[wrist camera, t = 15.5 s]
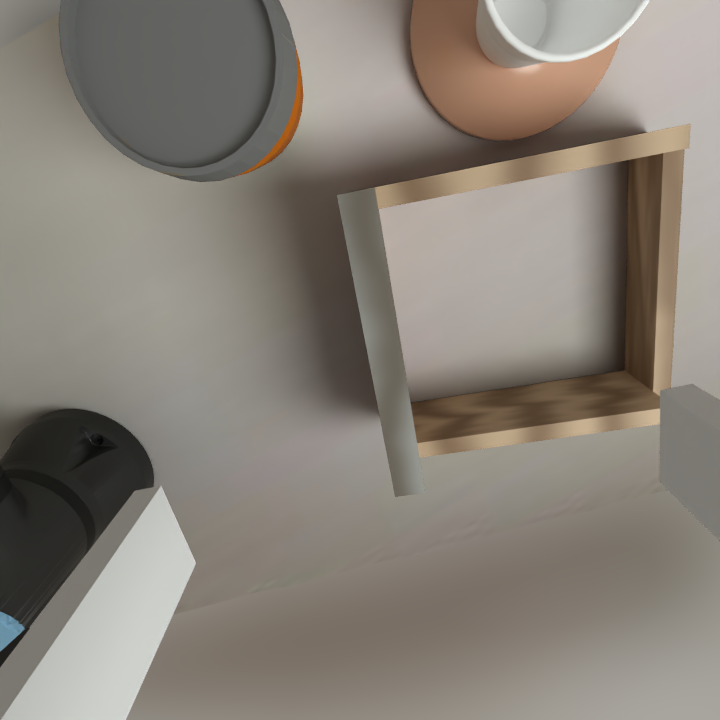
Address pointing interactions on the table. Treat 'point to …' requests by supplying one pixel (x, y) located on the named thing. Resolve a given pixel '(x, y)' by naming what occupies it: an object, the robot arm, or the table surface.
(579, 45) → the cup
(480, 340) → the table surface
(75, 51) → the reusable coffee cup
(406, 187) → the frame
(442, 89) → the saucer
